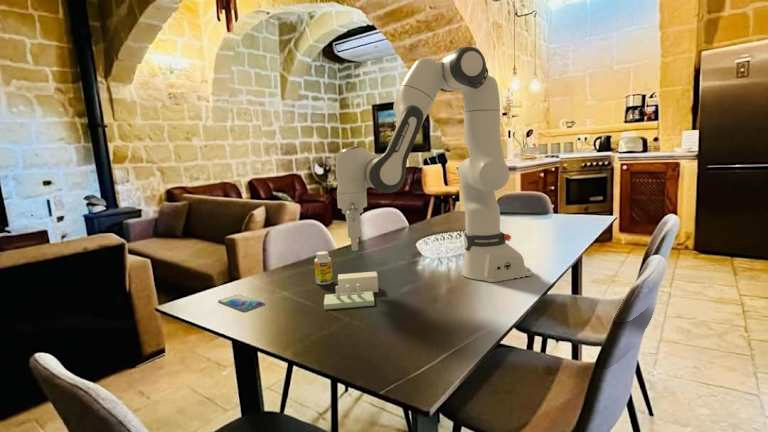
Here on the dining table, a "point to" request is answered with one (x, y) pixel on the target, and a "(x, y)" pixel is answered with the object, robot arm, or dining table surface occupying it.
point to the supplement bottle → (323, 268)
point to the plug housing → (358, 281)
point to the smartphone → (241, 303)
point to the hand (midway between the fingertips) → (354, 246)
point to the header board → (348, 298)
